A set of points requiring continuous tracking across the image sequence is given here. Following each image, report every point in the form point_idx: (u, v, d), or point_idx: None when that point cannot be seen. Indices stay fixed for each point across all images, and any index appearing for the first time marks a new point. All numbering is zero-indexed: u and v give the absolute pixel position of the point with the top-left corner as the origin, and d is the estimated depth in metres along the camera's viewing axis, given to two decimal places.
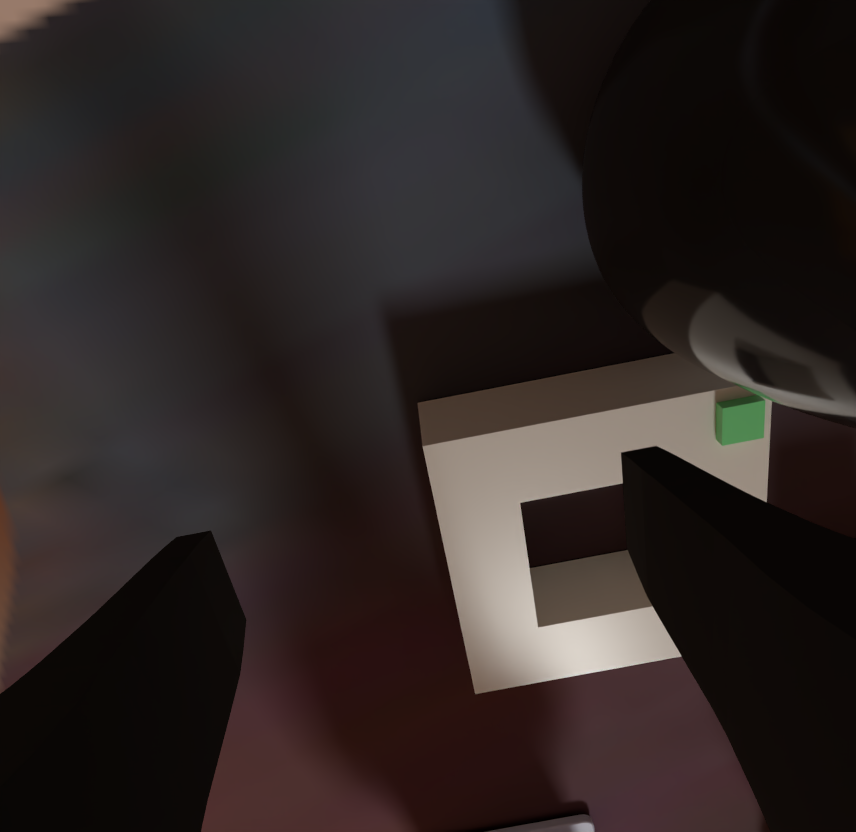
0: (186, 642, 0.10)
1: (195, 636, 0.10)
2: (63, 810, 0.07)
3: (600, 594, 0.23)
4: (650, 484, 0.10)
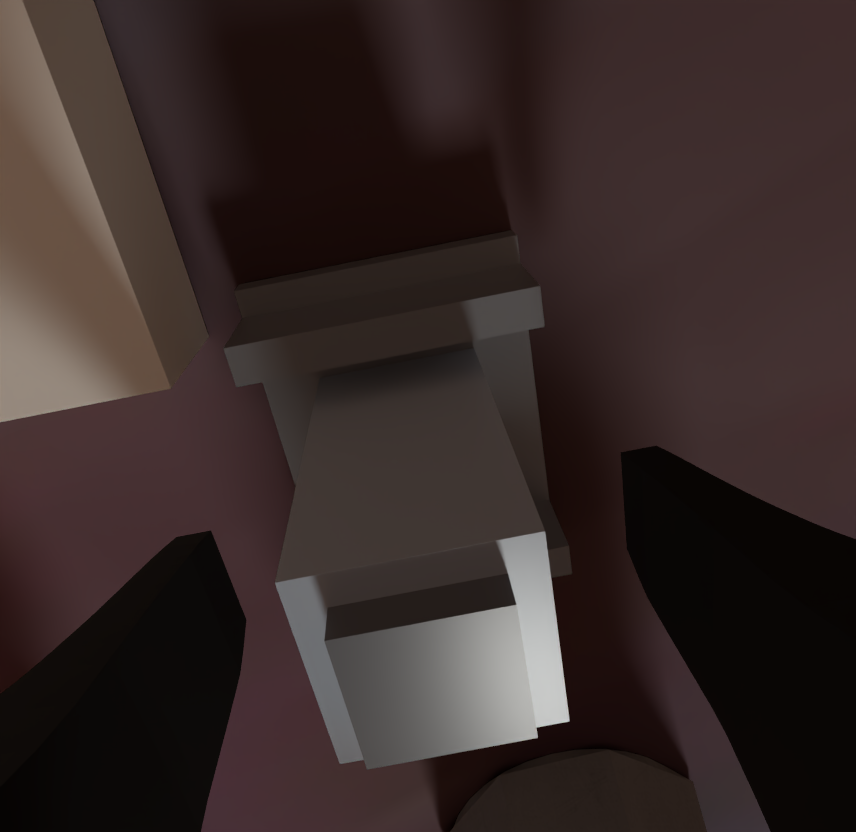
0: (186, 642, 0.10)
1: (195, 636, 0.10)
2: (63, 810, 0.07)
3: None
4: (650, 484, 0.10)
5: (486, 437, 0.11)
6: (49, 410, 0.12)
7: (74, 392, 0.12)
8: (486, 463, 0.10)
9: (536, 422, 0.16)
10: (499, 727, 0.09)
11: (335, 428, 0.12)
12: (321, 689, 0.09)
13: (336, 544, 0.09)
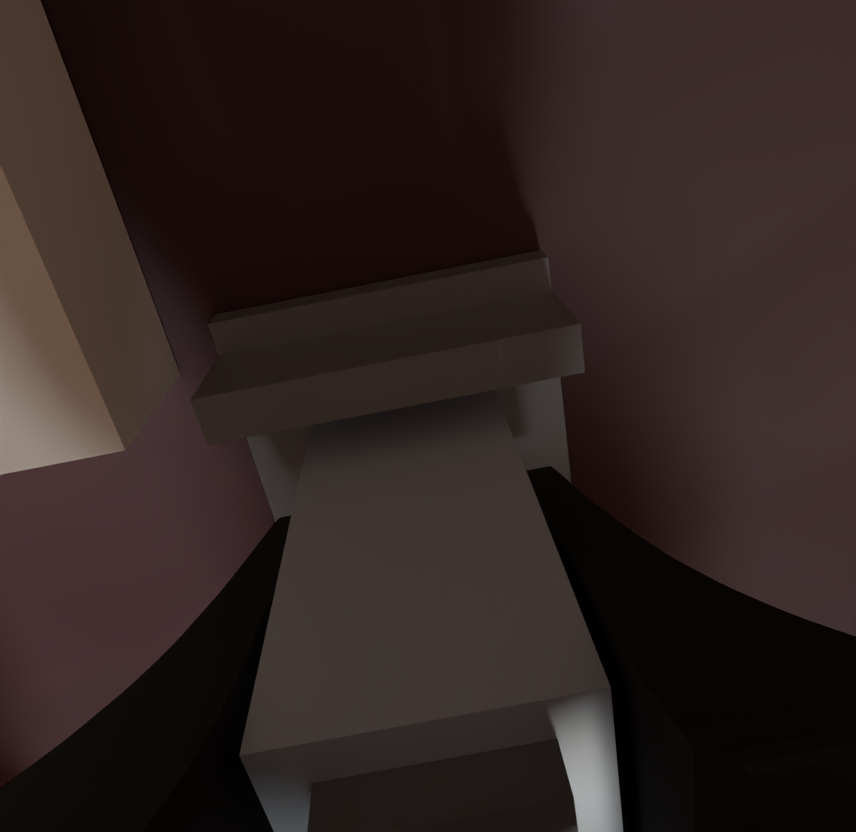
0: None
1: None
2: (239, 779, 0.07)
3: None
4: None
5: (518, 522, 0.09)
6: None
7: (5, 455, 0.10)
8: (520, 565, 0.08)
9: (566, 474, 0.13)
10: None
11: (326, 498, 0.10)
12: None
13: (324, 691, 0.07)
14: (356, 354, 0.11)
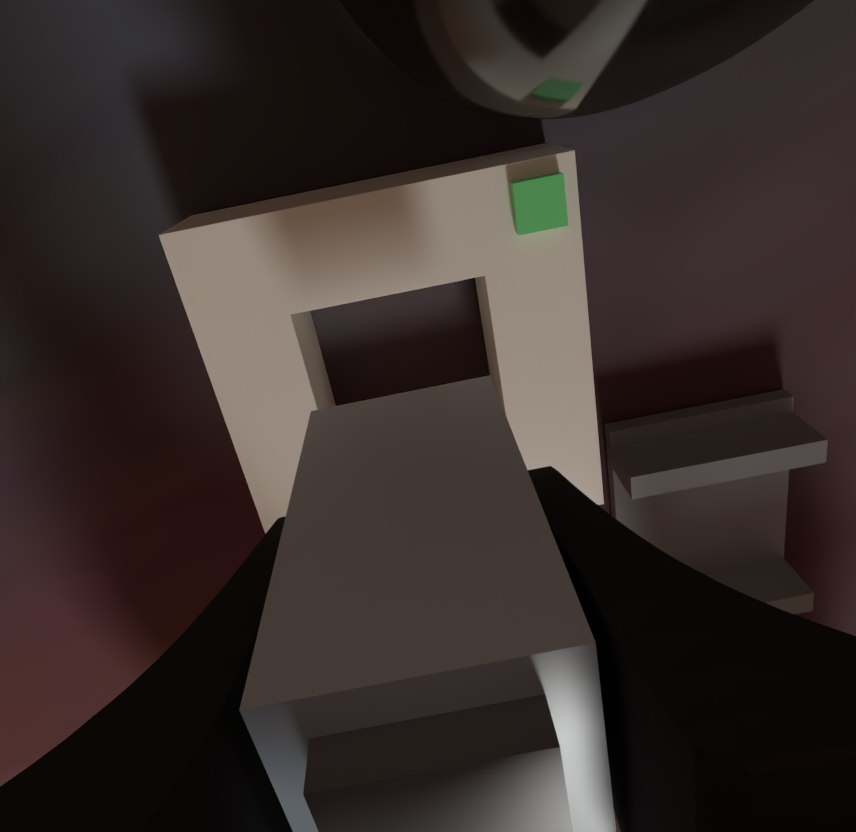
0: None
1: None
2: (238, 779, 0.07)
3: None
4: None
5: (510, 496, 0.09)
6: None
7: None
8: (511, 535, 0.08)
9: (785, 509, 0.23)
10: None
11: (325, 478, 0.10)
12: None
13: (321, 652, 0.07)
14: (705, 452, 0.21)
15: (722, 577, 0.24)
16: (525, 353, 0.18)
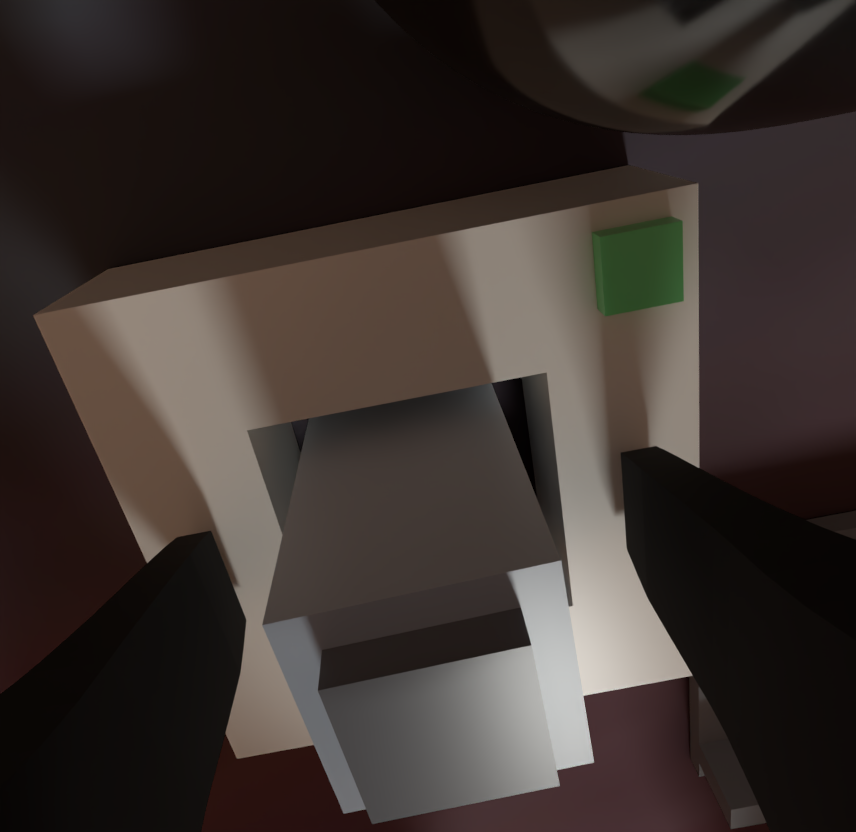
0: (187, 643, 0.10)
1: (195, 636, 0.10)
2: (64, 811, 0.07)
3: None
4: (650, 484, 0.10)
5: (493, 451, 0.10)
6: (587, 688, 0.14)
7: (619, 679, 0.14)
8: (494, 481, 0.09)
9: None
10: (517, 775, 0.08)
11: (331, 443, 0.11)
12: (319, 736, 0.08)
13: (330, 578, 0.08)
14: None
15: None
16: (601, 480, 0.12)
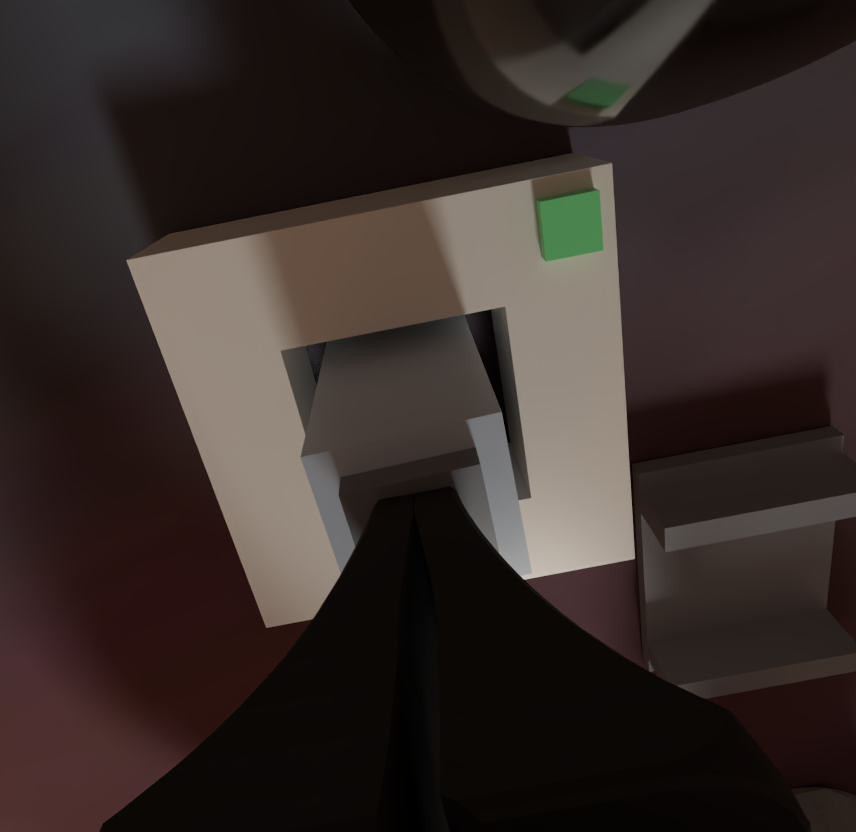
0: (421, 599, 0.10)
1: (423, 593, 0.10)
2: (410, 747, 0.06)
3: None
4: (418, 528, 0.10)
5: (463, 359, 0.14)
6: (545, 571, 0.18)
7: (571, 562, 0.18)
8: (461, 375, 0.13)
9: (829, 556, 0.21)
10: None
11: (342, 362, 0.15)
12: (337, 546, 0.12)
13: (345, 432, 0.12)
14: (747, 499, 0.18)
15: (759, 630, 0.22)
16: (549, 393, 0.15)
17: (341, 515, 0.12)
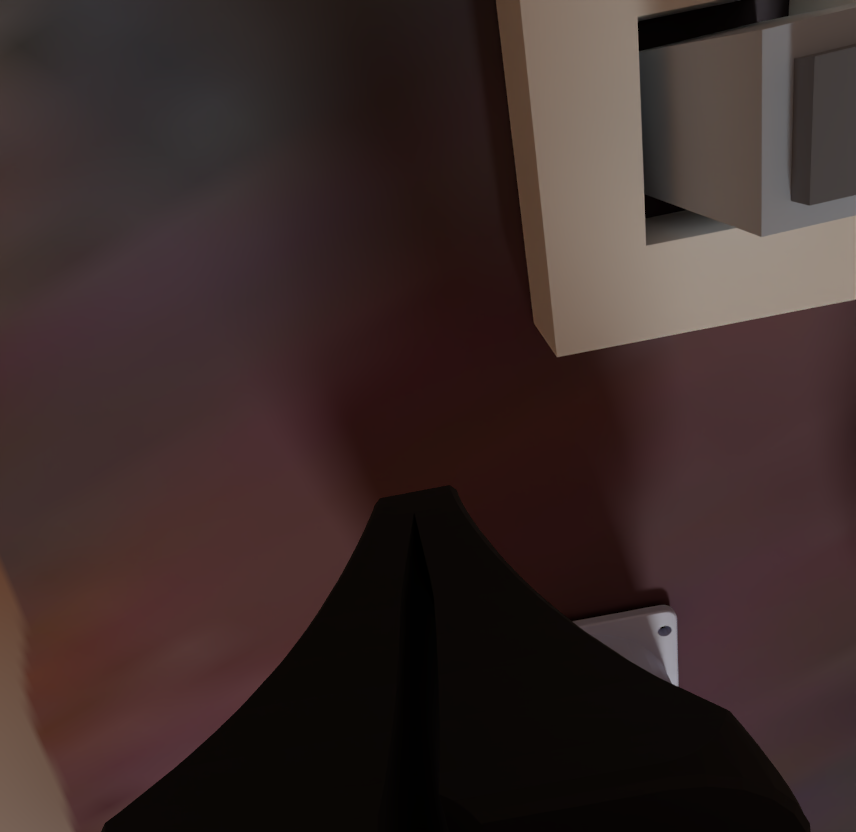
0: (422, 598, 0.10)
1: (424, 593, 0.10)
2: (412, 747, 0.06)
3: None
4: None
5: (846, 5, 0.14)
6: (837, 300, 0.18)
7: None
8: None
9: None
10: None
11: (687, 41, 0.15)
12: (768, 149, 0.12)
13: (789, 22, 0.12)
14: None
15: None
16: None
17: (780, 110, 0.12)
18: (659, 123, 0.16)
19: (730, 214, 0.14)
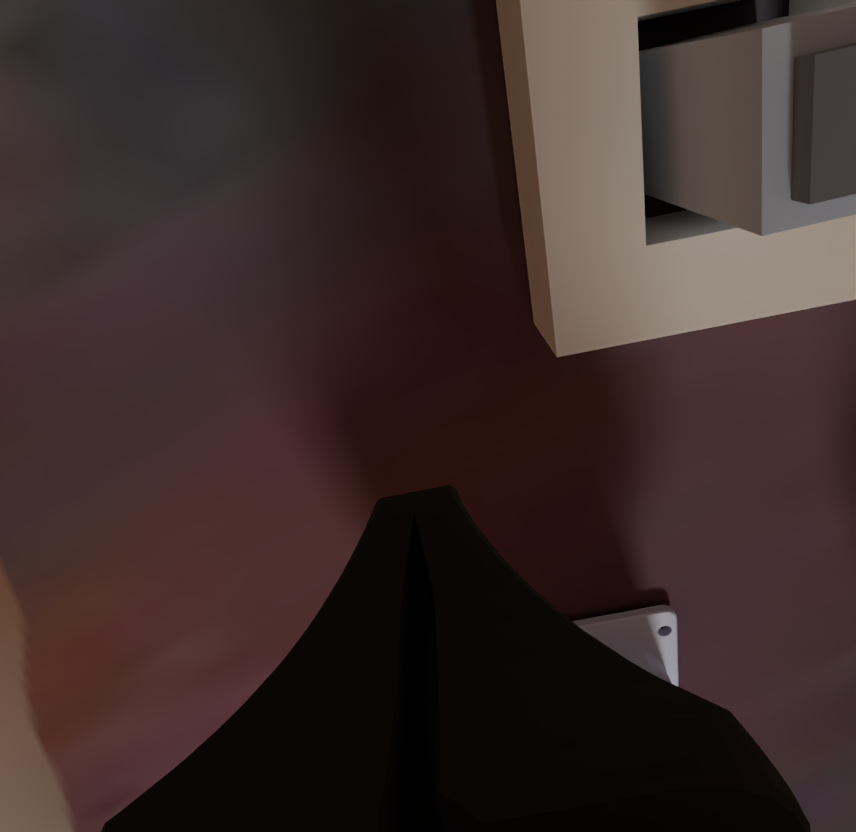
0: (422, 598, 0.10)
1: (424, 593, 0.10)
2: (412, 747, 0.06)
3: None
4: None
5: (846, 4, 0.14)
6: (837, 300, 0.18)
7: None
8: None
9: None
10: None
11: (687, 41, 0.15)
12: (768, 148, 0.12)
13: (789, 21, 0.12)
14: None
15: None
16: None
17: (781, 109, 0.12)
18: (659, 122, 0.16)
19: (730, 213, 0.14)
